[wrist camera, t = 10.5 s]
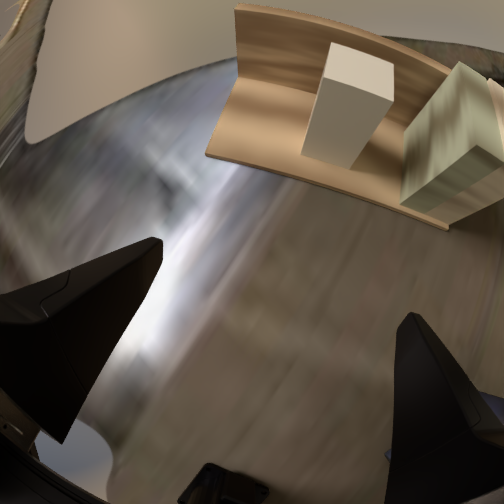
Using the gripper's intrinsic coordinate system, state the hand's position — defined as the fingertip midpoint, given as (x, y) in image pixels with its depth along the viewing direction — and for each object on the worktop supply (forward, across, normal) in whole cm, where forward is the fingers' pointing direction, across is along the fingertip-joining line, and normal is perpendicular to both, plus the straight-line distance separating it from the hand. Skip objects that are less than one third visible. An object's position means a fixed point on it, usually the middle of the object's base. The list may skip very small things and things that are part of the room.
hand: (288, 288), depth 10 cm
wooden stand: (+21, -3, -2) cm, 21 cm away
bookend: (+19, -2, -1) cm, 19 cm away
